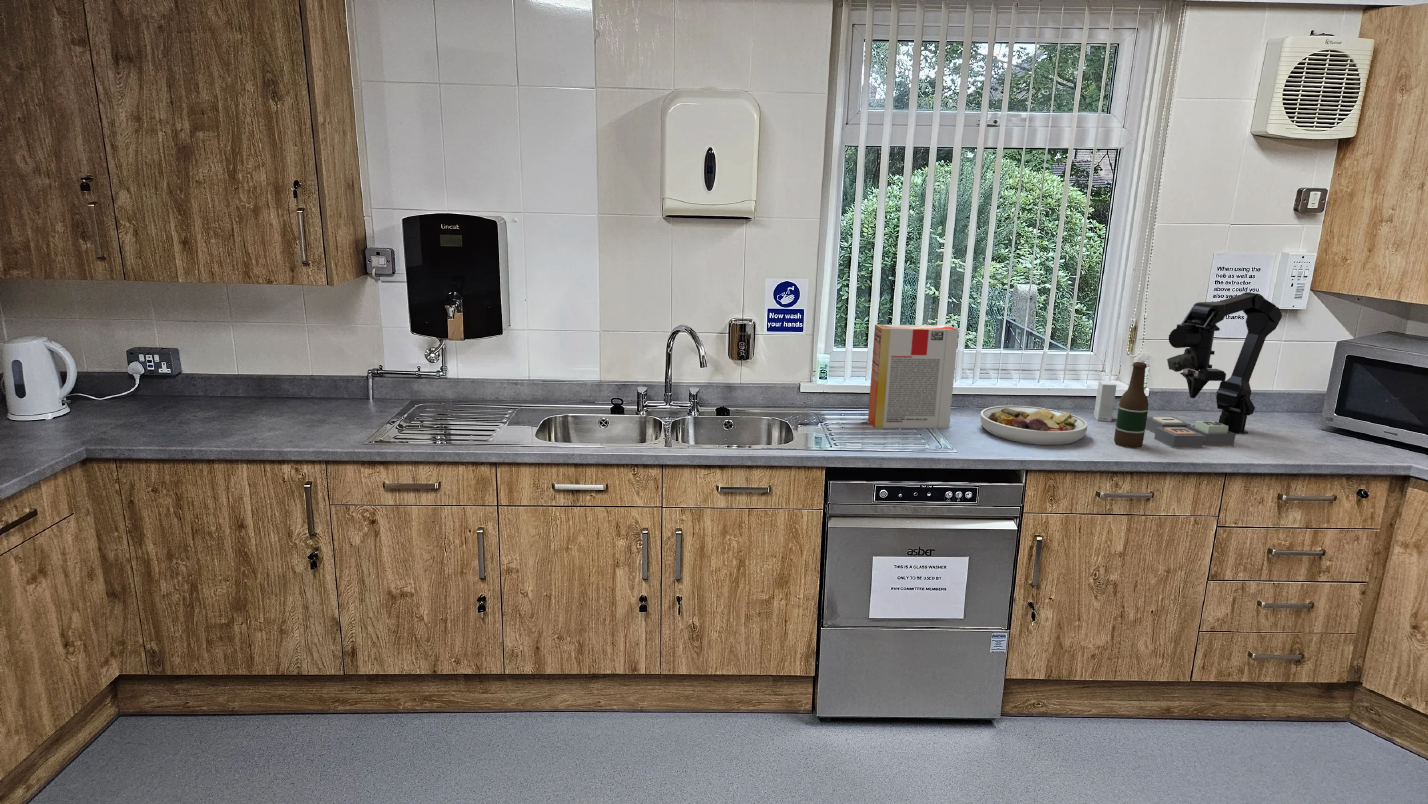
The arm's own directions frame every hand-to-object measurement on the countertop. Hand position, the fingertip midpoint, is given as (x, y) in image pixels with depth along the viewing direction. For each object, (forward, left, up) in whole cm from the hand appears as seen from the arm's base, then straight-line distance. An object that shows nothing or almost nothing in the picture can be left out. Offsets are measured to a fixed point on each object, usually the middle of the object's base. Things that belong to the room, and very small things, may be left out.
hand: (1192, 398), depth 253 cm
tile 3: (+7, +7, -10) cm, 15 cm away
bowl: (+47, -4, -12) cm, 48 cm away
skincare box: (+15, -20, -12) cm, 28 cm away
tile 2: (-4, +5, -9) cm, 11 cm away
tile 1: (+3, -5, -10) cm, 12 cm away
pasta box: (+81, -14, -12) cm, 83 cm away
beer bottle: (+23, +8, -12) cm, 28 cm away
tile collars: (+2, +1, -12) cm, 12 cm away
